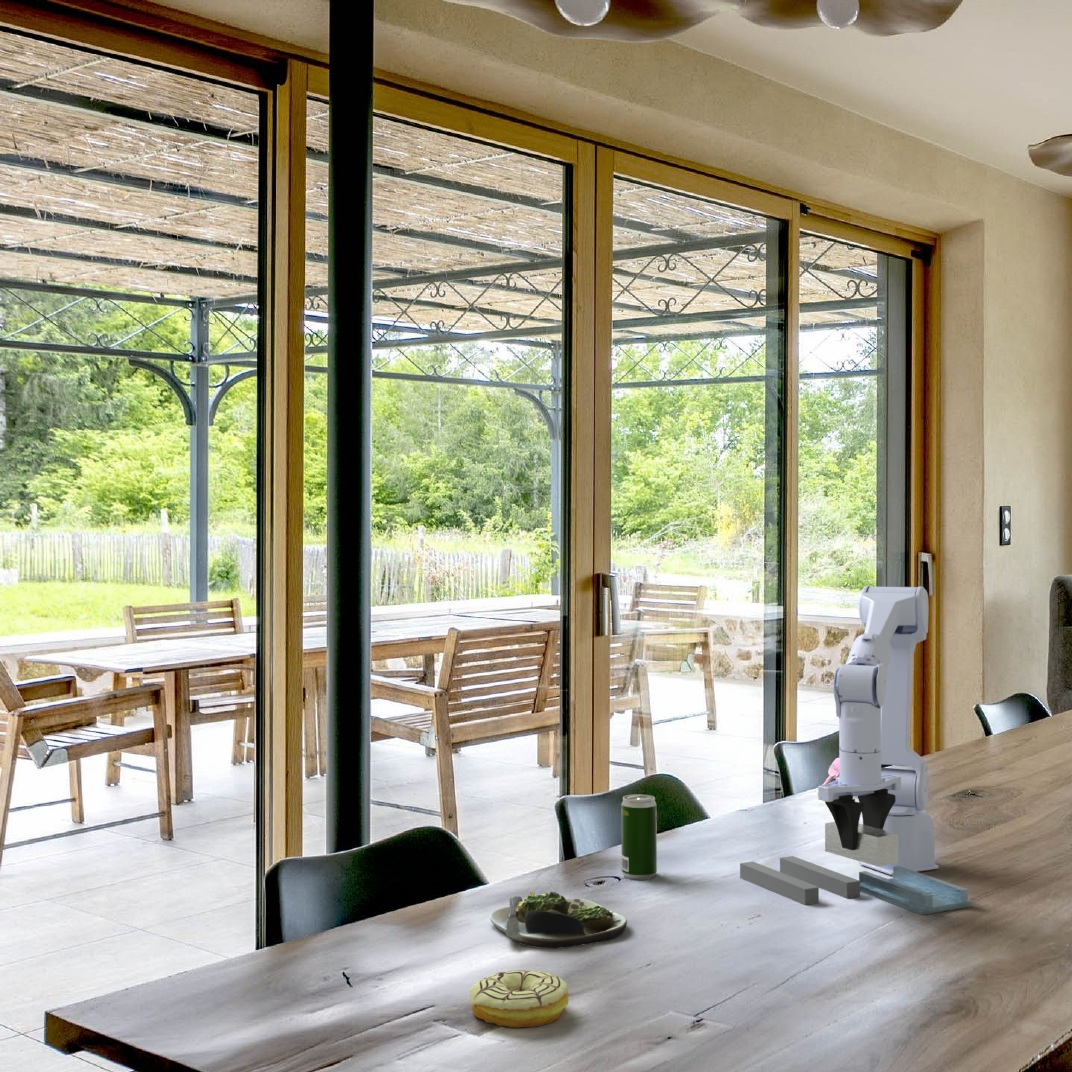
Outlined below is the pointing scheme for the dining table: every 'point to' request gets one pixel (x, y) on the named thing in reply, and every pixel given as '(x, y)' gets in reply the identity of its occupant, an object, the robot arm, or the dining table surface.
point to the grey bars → (800, 880)
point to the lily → (833, 771)
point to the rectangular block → (865, 845)
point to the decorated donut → (519, 998)
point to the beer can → (639, 836)
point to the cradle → (915, 891)
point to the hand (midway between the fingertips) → (860, 846)
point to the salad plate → (557, 921)
